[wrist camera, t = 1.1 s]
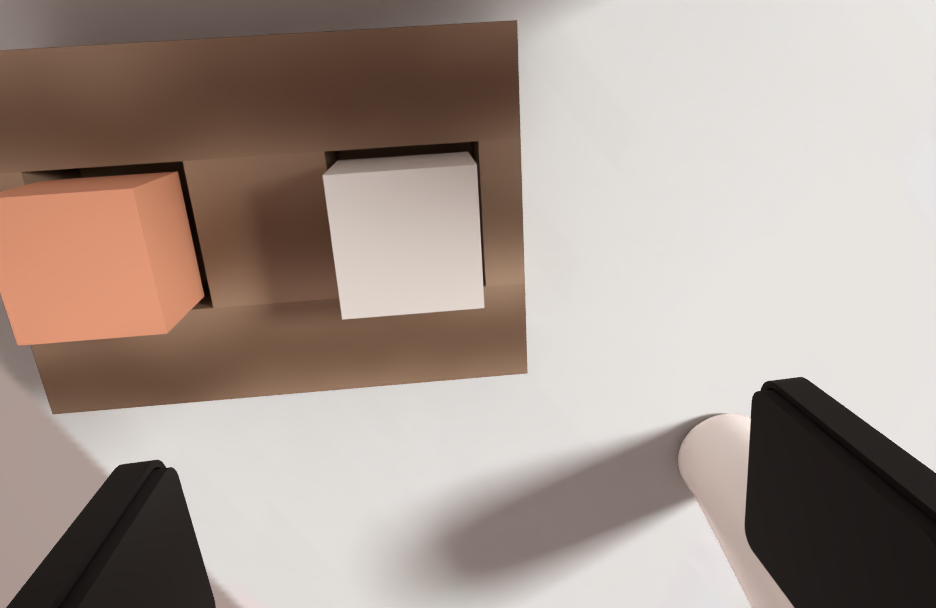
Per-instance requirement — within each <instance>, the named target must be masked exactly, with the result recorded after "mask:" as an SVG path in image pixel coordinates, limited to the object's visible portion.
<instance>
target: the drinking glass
mask: <svg viewBox="0 0 936 608" xmlns="http://www.w3.org/2000/svg"><path fill="white" fill-rule="evenodd" d="M750 423H751V418H748V417H746V416H743V415H738V414H721V415H717V416H713V417H710V418H708V419H706V420H704V421H702V422H701V423H699V424H698V425H696V426H695V427H694V428H693V429H692V430H691V431H690V432H689V433H688V434H687V436H686V437H685V439H684V440H683V442H682V444H681V447H680V450H679V455H678V465H679V470H680V473H681V476H682V478H683V480H684V481H685V483H686V484H687V486H688V487H689V489H690V490H691V492H692V494H693V495H694V497H695V499H696V500H697V502H698V504H699V506H700V508H701V510H702V512H703V514H704V516H705V518H706V519H707V521H708V523H709V525H710V527H711V529H712V531H713V533H714V535H715V537H716V539H717V541H718V543H719V545H720V547H721V549H722V551H723V552H724V554H725V556H726V558H727V560H728V562H729V564H730V566H731V568H732V570H733V572H734V574H735V576H736V578H737V580H738V582H739V584H740V586H741V588H742V590H743V592H744V594H745V596H746V598H747V600H748V602H749V604H750V606H751V608H794V607H793V605H792V604H791V602H790V601H789V600H788V598H787V597H786V596H785V594H784V593H783V592H782V590H781V589H780V588H779V586H778V585H777V584H776V582H775V581H774V580H773V578H772V577H771V576H770V574H769V573H768V571H767V570H766V569H765V567H764V566H763V565H762V563H761V562H760V561H759V559H758V558H757V557H756V555H755V554H754V553H753V551H752V550H751V548H750V546H749V544H748V542H747V538H746V535H745V508H746V491H747V474H748V457H749V440H750Z"/></svg>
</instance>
